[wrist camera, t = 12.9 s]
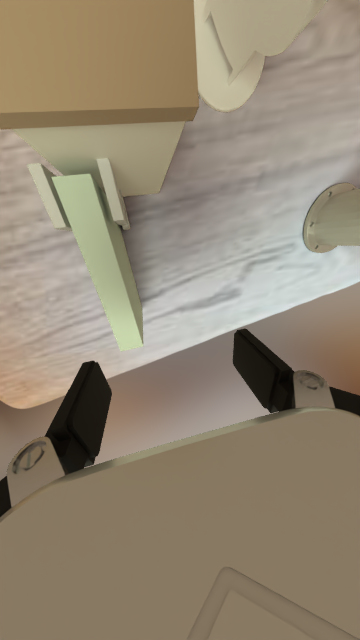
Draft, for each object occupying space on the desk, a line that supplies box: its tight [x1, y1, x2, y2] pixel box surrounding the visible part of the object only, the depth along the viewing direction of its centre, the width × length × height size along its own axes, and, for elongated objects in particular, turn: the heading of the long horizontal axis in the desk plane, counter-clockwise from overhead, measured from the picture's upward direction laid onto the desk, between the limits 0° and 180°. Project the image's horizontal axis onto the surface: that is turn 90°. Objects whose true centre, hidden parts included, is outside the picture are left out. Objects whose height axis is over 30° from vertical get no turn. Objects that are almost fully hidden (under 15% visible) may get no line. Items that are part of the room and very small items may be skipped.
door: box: [51, 174, 143, 351], centre depth 23 cm, size 4×18×14 cm, turn 7°
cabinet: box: [0, 0, 199, 231], centre depth 15 cm, size 12×17×19 cm
